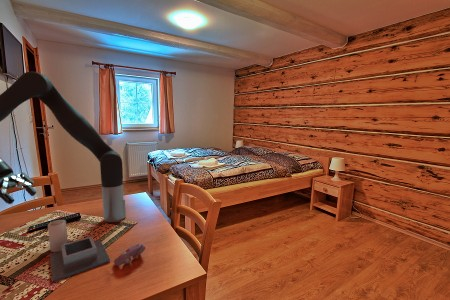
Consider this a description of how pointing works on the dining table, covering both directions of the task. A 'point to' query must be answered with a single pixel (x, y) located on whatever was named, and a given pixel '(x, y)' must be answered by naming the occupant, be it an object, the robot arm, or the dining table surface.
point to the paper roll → (57, 235)
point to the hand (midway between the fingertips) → (23, 198)
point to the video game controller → (129, 254)
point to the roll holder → (77, 258)
